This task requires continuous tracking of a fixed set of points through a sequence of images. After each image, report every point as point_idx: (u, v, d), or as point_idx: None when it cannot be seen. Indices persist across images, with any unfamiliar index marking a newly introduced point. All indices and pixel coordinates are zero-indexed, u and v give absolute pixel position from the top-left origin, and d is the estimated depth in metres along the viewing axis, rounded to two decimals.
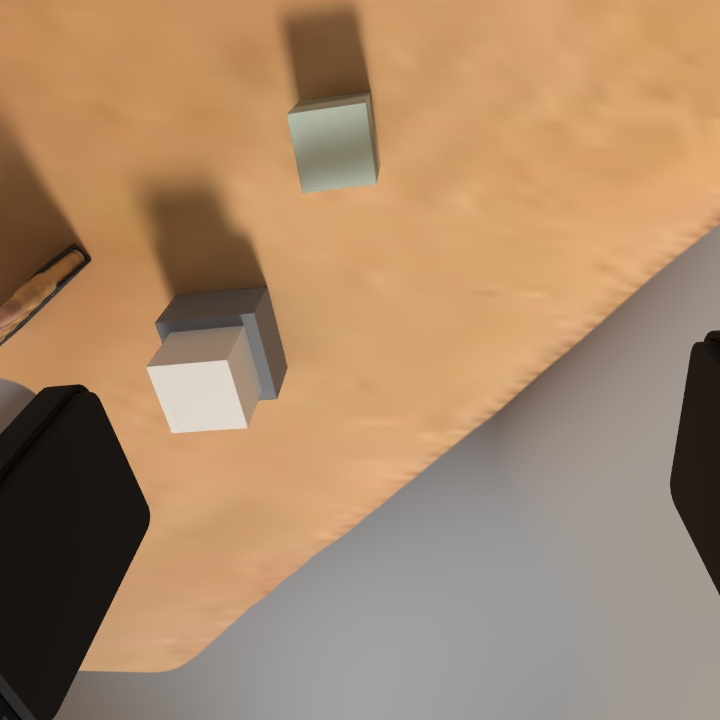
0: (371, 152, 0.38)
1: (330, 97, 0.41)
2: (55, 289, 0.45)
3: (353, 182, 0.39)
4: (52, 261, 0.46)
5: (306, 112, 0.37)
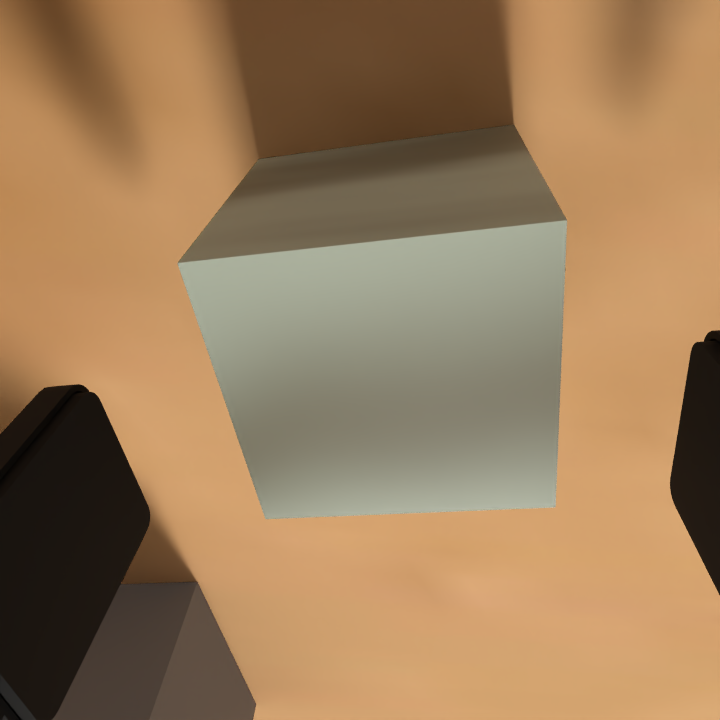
0: (554, 411, 0.09)
1: (367, 149, 0.11)
2: None
3: (463, 498, 0.10)
4: None
5: (269, 257, 0.08)
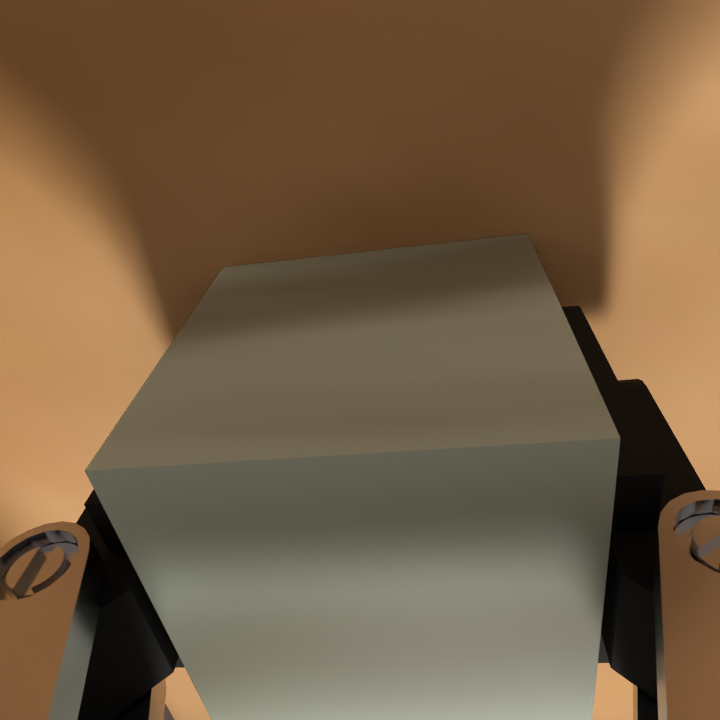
0: (593, 642, 0.07)
1: (351, 263, 0.09)
2: None
3: None
4: None
5: (208, 468, 0.06)
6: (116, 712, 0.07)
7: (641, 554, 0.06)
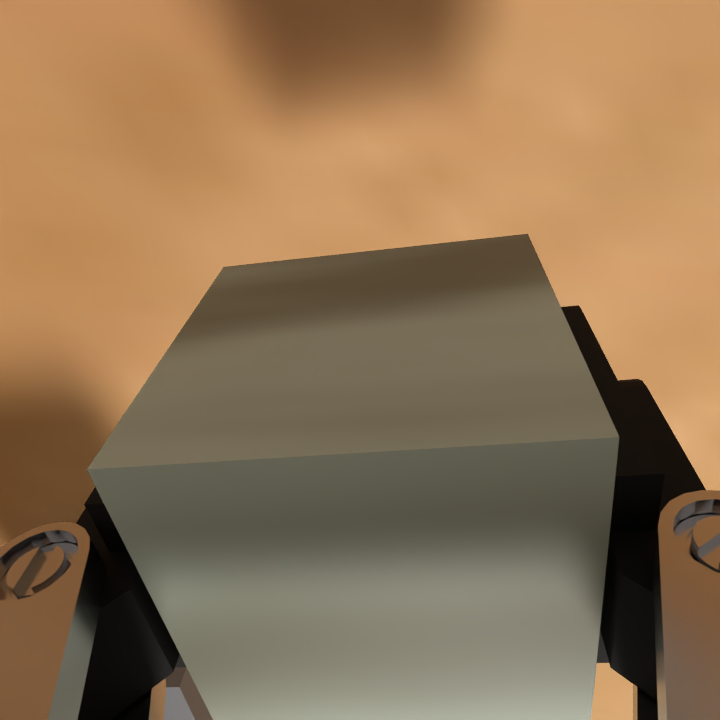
0: (592, 640, 0.07)
1: (351, 263, 0.09)
2: None
3: None
4: None
5: (209, 467, 0.06)
6: (116, 712, 0.07)
7: (641, 554, 0.06)
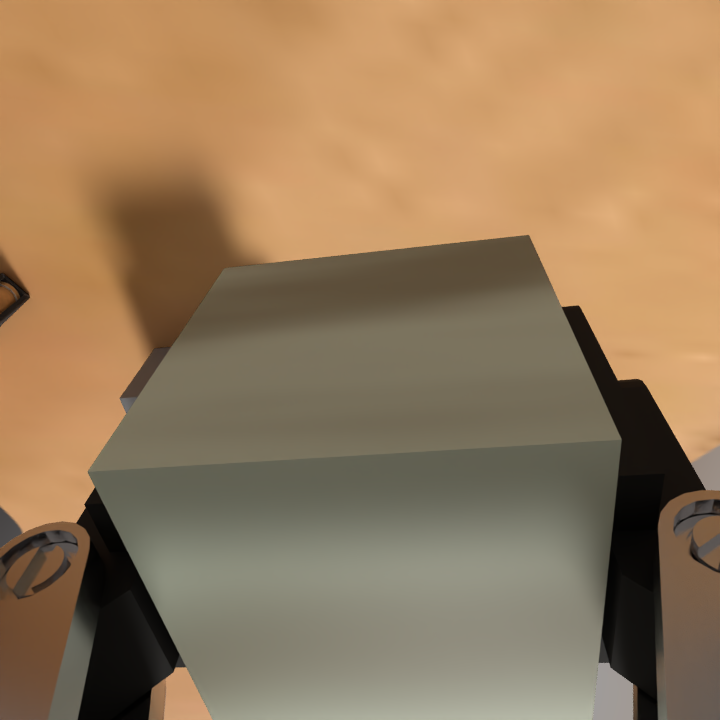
0: (593, 642, 0.07)
1: (352, 264, 0.09)
2: None
3: None
4: None
5: (210, 469, 0.06)
6: (116, 712, 0.07)
7: (641, 554, 0.06)
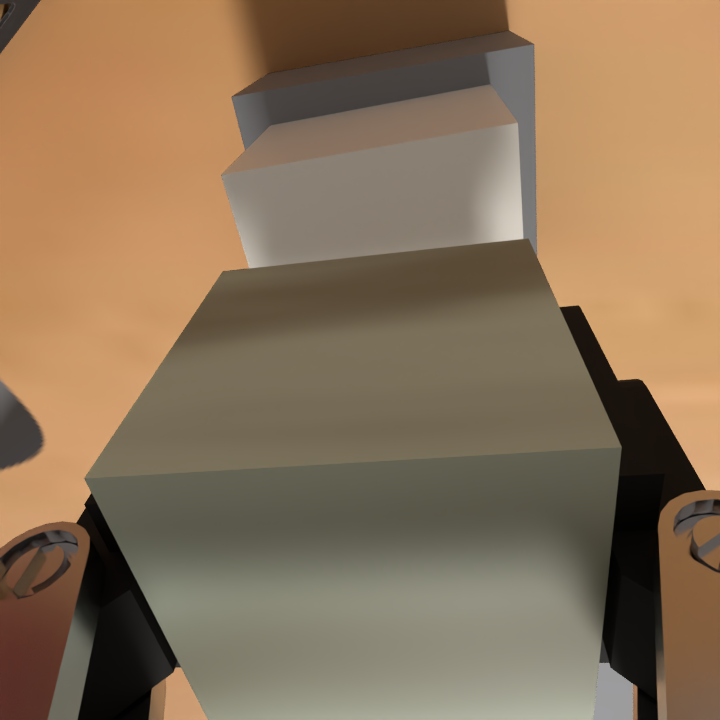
0: (593, 649, 0.07)
1: (351, 268, 0.09)
2: None
3: None
4: None
5: (208, 476, 0.06)
6: (116, 712, 0.07)
7: (641, 554, 0.06)
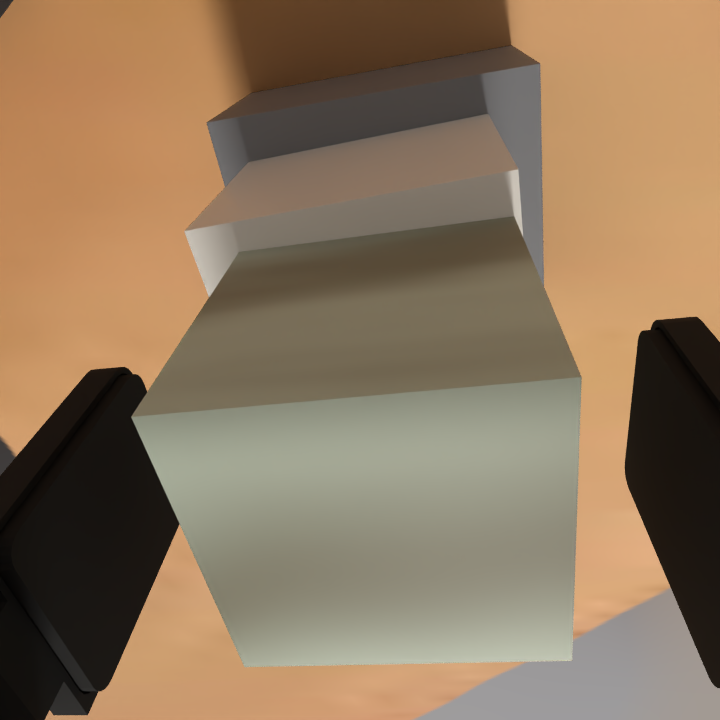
0: (569, 566, 0.08)
1: (355, 246, 0.10)
2: None
3: (466, 650, 0.09)
4: None
5: (236, 412, 0.07)
6: None
7: None
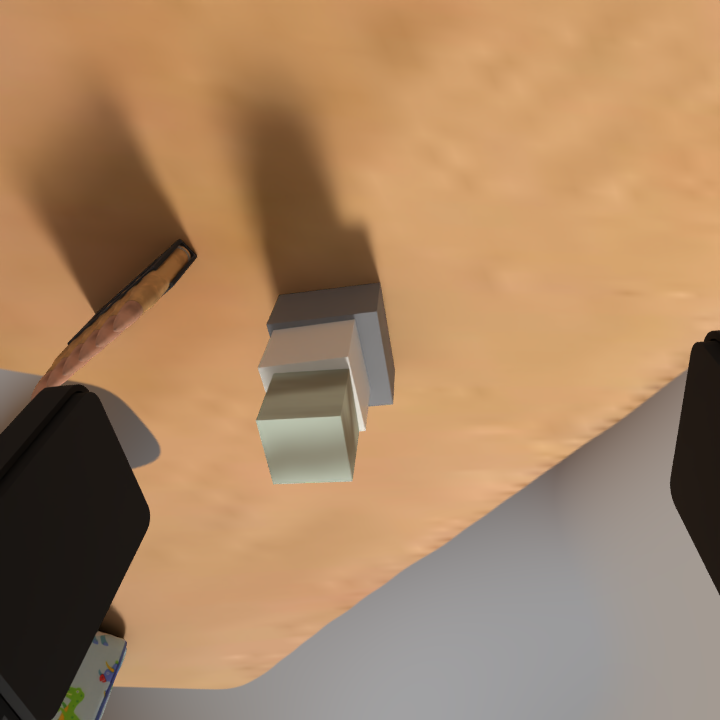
0: (347, 455, 0.36)
1: (305, 375, 0.38)
2: (168, 288, 0.42)
3: (327, 478, 0.37)
4: (163, 258, 0.42)
5: (277, 420, 0.35)
6: None
7: None
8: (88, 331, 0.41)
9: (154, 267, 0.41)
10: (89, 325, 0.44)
